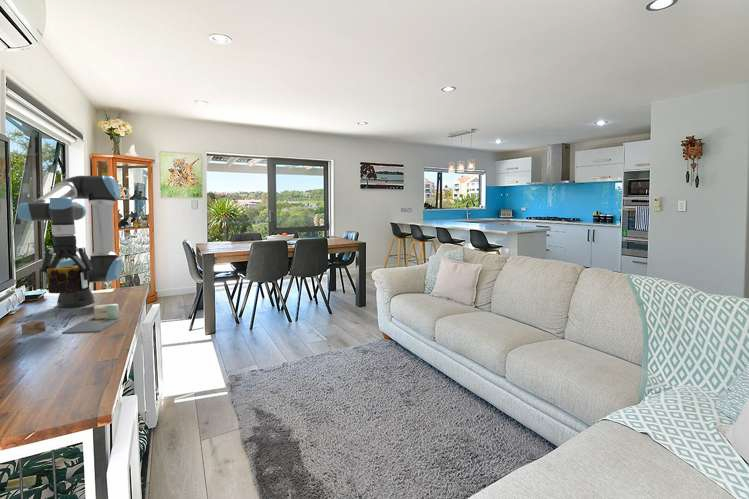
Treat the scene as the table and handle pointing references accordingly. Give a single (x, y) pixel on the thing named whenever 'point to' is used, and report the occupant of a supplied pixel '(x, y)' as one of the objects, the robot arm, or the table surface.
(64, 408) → the table surface
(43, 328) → the walnut block
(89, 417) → the table surface
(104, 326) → the coaster
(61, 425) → the table surface
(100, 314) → the maple block
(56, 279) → the candle
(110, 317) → the sage capsule
